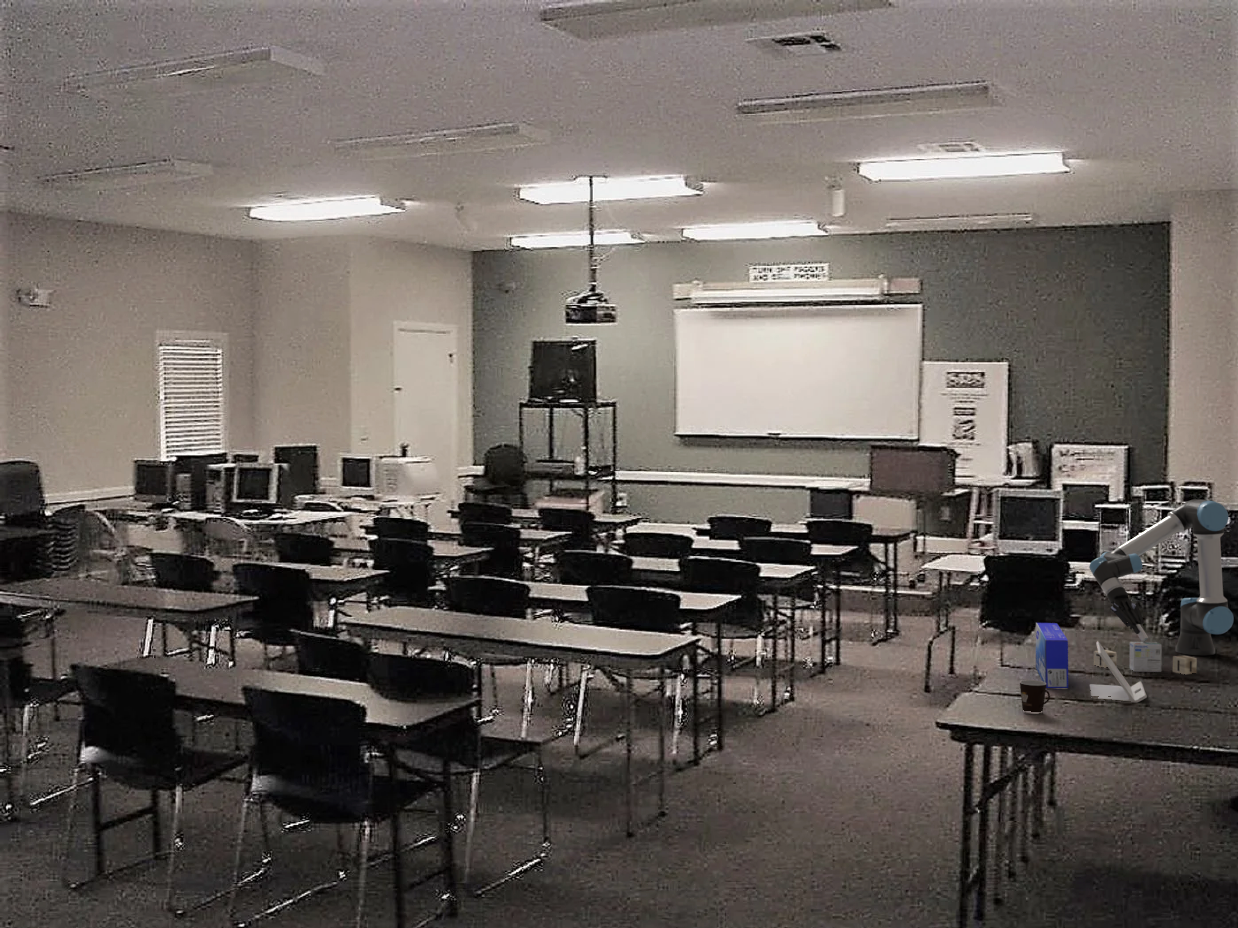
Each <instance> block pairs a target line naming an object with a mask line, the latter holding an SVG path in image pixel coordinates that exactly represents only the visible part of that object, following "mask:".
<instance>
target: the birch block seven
mask: <svg viewBox="0 0 1238 928" xmlns="http://www.w3.org/2000/svg"><path fill="white" fill-rule="evenodd" d="M1104 650H1105V651H1106V653H1107V654H1108V656H1109V657H1110V659H1111V660H1112V661H1113V663H1114V664H1115V666H1116V667H1117V651H1112V650H1108V649H1104ZM1094 665H1096V666H1095V667H1097V666H1099V667H1098V668H1101V667H1104V668H1103V669H1107V668H1106V667H1108V666H1107V665H1106V663H1105V662H1104V661H1103V659H1102V658H1101V656H1100V655H1099V653H1098V650H1093V666H1094Z"/></svg>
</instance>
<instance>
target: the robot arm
mask: <svg viewBox="0 0 1238 928" xmlns="http://www.w3.org/2000/svg"><path fill="white" fill-rule="evenodd" d="M1228 523H1229V512H1228V511H1227V508H1226V507H1225V506H1224V505H1223V504H1222V503H1219V502H1217V501H1214V500H1207V499H1200V498H1194V499H1191V500H1188V501H1186V502H1183V503H1182V504H1180V505H1178V506H1177V507H1175V508H1174V509H1171V510H1170V511H1169V512H1168V513H1167V516H1166V517H1165V518H1163V519H1161V520H1160V521H1158V522H1156V523H1155V524H1152V526H1150V527H1148V528H1147V529H1146V530H1144V531H1142V532H1141V533H1139V534H1137V535H1135V537H1133V538H1132V539H1129V540H1127V541H1126V542H1125V543H1123V544H1121V545H1120V546H1119V547H1116V548H1115V549H1113V550H1112V551H1105V552H1103V553H1102V554H1101V555H1100V556H1099V557H1097V558H1095V559H1093V560H1092V561H1091V562H1090V563H1089V567H1088V568H1089V570H1090V572H1091V574H1092V576H1093V577H1094V578H1095V580H1096V582H1097V583H1098V585H1099V586H1100V588H1101V589H1102V591H1103V592H1104V594H1105V596H1106V598H1107V599H1108V601H1109V602H1110V604H1111V605H1112V606H1110V608H1109V609H1110V611H1111V612H1113V613H1114V614H1115V615H1116V616H1117V617H1118V618H1119V620H1120V621H1121V622H1122V623H1123V624H1124V625H1125V626H1126V627H1127V628H1129V629H1130V630H1133V632H1134V633H1135V635H1136V636H1138V639H1139V640H1140V642H1147V640H1148V639H1149V636H1148V635H1147V633H1146V630H1145V628H1144V627H1143V624H1144V623H1145V620H1144V618H1143V615H1142V613H1141V611H1140V606H1139V603H1137V602H1136V603H1135V602H1133V601H1131V599H1130V597H1129V593H1128V591H1127V590H1126V589H1125V587H1124V585H1123V584H1122V582H1121V581H1120V579H1119V578H1122V577H1125V576H1128V575H1132V574H1136V573H1137V572H1140V571H1142V569H1143V561H1142V558H1141V557H1140V556H1142V555H1143V554H1145V553H1146V552H1148V551H1150V550H1152V549H1153V548H1154V547H1157V546H1158V545H1159V544H1162V543H1163V542H1165V541H1166V540H1167V539H1169V538H1170V537H1173V536H1174V535H1176V534H1177V533H1178V532H1179V533H1183V532H1185V531H1187V530H1189V529H1192V535H1193V536H1194V537H1196V539H1197V540H1196V541H1197V558H1198V559H1197V560H1198V562H1197V563H1198V579H1199V580H1198V581H1199V582H1198V583H1199V594H1200V595H1199V597H1184V598H1182V599H1181V602H1180V634H1179V637H1178V639H1177V643H1176V644H1175V652H1176V653H1179V654H1182V655H1188V656H1189V655H1190V656H1212V655H1213V656H1214V655H1215V654H1216V648H1215V646H1214V642H1213V638H1212V635H1223V634H1225V633H1226V632H1228V631H1229V630H1230V629H1231V628H1232V626H1233V624H1234V613H1233V612H1232V611H1231V610H1230V608H1229V606H1228V599H1227V598H1226V597H1225V596H1224V589H1223V588H1224V587H1223V569H1222V567H1223V566H1222V550H1221V549H1222V548H1221V538H1222V536H1223V535H1224V534H1225V528H1226V525H1228Z"/></svg>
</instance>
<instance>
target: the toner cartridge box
mask: <svg viewBox="0 0 1238 928" xmlns="http://www.w3.org/2000/svg"><path fill="white" fill-rule="evenodd" d="M1035 669H1036V671H1037V672H1038V675H1039V677H1040V681H1043V682H1045V683H1047V684H1046V688H1068V689H1069V640H1068V638H1067V636H1066V635H1065V633H1064V632H1063V630H1062V629H1061V627H1060V626H1059V624H1058V623H1055V622H1052V623H1051V622H1035Z"/></svg>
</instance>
